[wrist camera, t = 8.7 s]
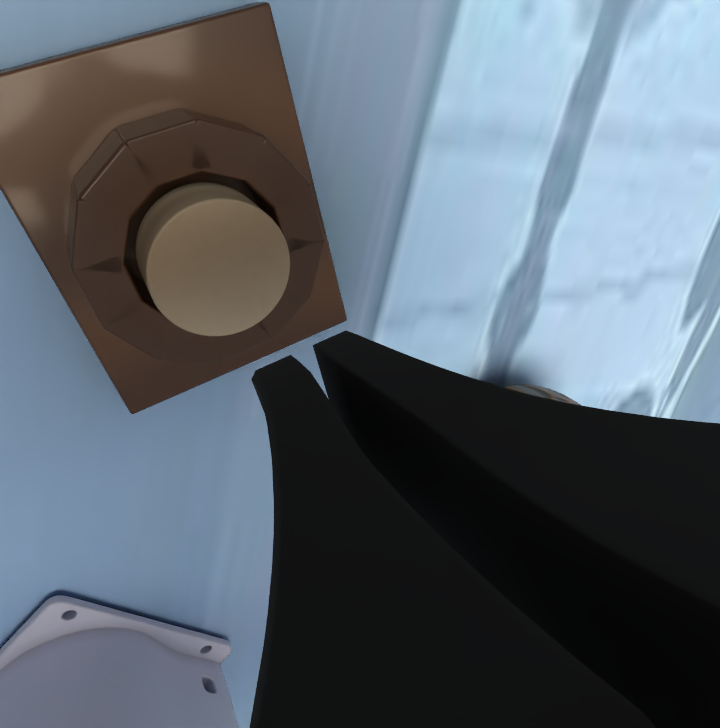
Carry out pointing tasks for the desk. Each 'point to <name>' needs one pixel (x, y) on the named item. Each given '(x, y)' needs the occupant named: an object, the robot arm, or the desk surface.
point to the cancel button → (212, 259)
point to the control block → (162, 185)
